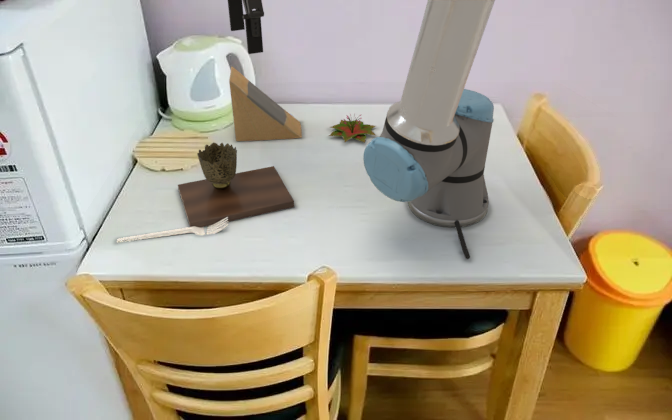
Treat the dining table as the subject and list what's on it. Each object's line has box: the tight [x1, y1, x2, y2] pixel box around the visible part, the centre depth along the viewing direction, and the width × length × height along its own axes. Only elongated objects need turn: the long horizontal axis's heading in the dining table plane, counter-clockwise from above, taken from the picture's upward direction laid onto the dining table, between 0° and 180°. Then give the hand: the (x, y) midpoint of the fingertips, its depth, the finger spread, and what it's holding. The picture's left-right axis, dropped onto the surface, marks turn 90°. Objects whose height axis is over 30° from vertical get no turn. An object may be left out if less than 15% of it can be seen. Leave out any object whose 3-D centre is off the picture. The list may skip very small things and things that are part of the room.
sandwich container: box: [228, 66, 303, 142], centre depth 137 cm, size 9×15×15 cm, turn 95°
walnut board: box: [177, 165, 295, 228], centre depth 117 cm, size 14×20×2 cm
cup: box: [196, 142, 238, 190], centre depth 116 cm, size 8×7×8 cm
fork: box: [116, 217, 229, 244], centre depth 108 cm, size 3×20×2 cm, turn 103°
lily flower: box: [328, 114, 376, 143], centre depth 139 cm, size 12×12×5 cm
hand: (246, 40), depth 114 cm, fingers open, 13 cm apart
